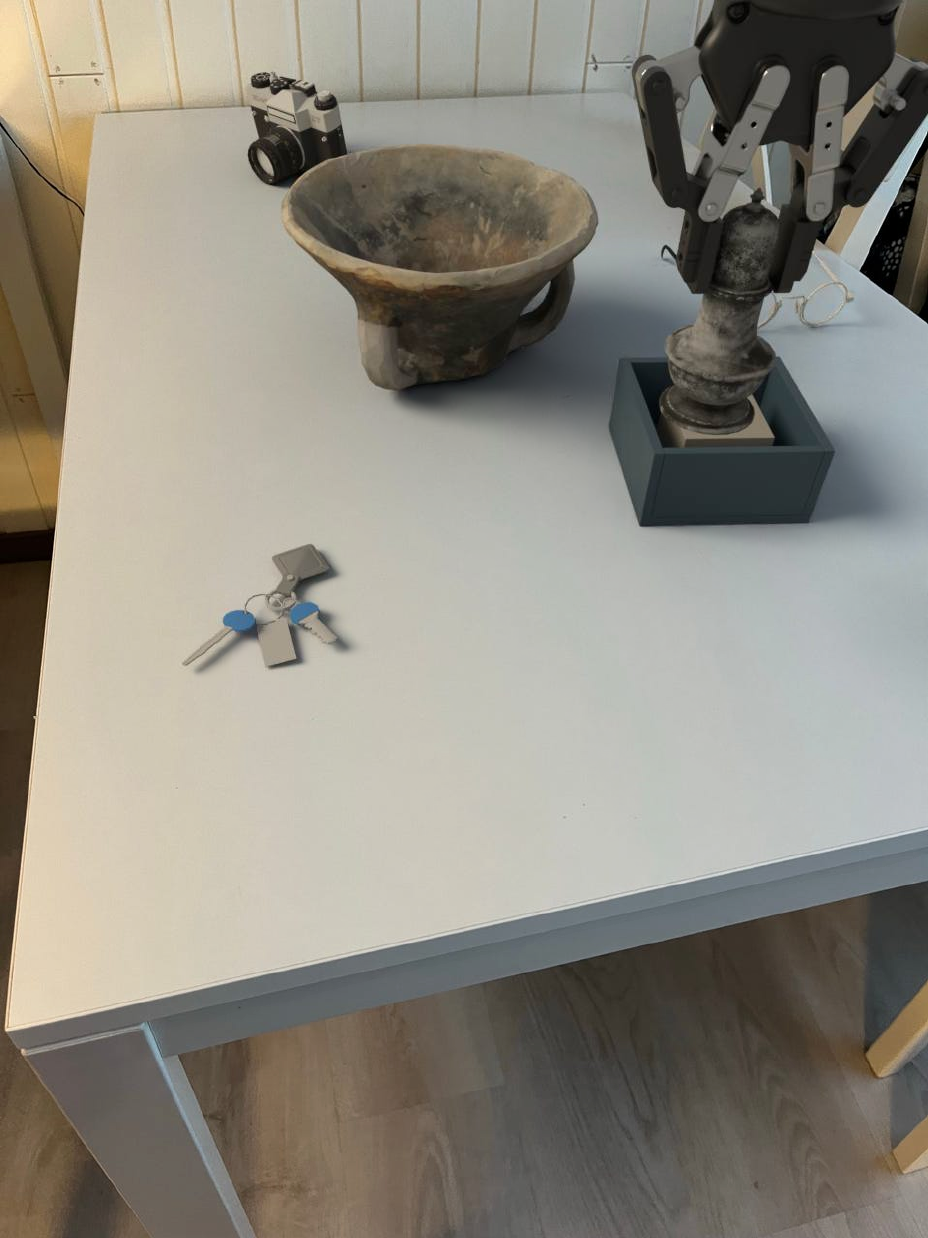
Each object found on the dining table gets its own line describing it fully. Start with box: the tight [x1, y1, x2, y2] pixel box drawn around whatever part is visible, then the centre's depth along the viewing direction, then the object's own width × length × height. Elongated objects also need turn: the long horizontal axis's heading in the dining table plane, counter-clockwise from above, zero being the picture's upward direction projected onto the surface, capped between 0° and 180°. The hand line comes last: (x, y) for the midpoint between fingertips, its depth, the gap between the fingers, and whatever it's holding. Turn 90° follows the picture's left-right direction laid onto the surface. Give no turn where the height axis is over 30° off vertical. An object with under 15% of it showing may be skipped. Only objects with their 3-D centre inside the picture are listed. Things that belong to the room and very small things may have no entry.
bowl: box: [280, 143, 599, 391], centre depth 86 cm, size 27×26×15 cm
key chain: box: [181, 543, 338, 668], centre depth 65 cm, size 14×8×1 cm, turn 157°
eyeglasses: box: [660, 244, 855, 330], centre depth 101 cm, size 16×19×5 cm
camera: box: [245, 71, 349, 185], centre depth 119 cm, size 15×11×10 cm
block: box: [657, 395, 775, 448], centre depth 77 cm, size 7×7×5 cm
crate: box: [607, 355, 836, 527], centre depth 77 cm, size 14×14×7 cm
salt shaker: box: [659, 187, 780, 435], centre depth 49 cm, size 6×6×12 cm
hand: (736, 284), depth 48 cm, fingers closed on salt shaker, 3 cm apart
